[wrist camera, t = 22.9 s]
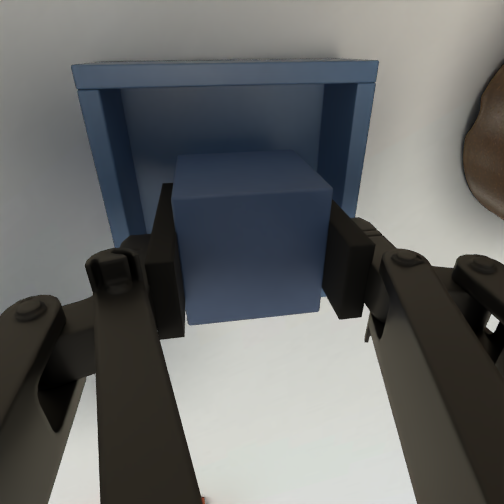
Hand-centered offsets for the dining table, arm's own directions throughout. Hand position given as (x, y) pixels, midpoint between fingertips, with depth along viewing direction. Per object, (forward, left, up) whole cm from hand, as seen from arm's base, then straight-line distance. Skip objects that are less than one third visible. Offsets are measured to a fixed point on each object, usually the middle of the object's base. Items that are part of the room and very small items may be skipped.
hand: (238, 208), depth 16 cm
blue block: (0, 0, 0) cm, 0 cm away
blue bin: (0, 0, -5) cm, 5 cm away
